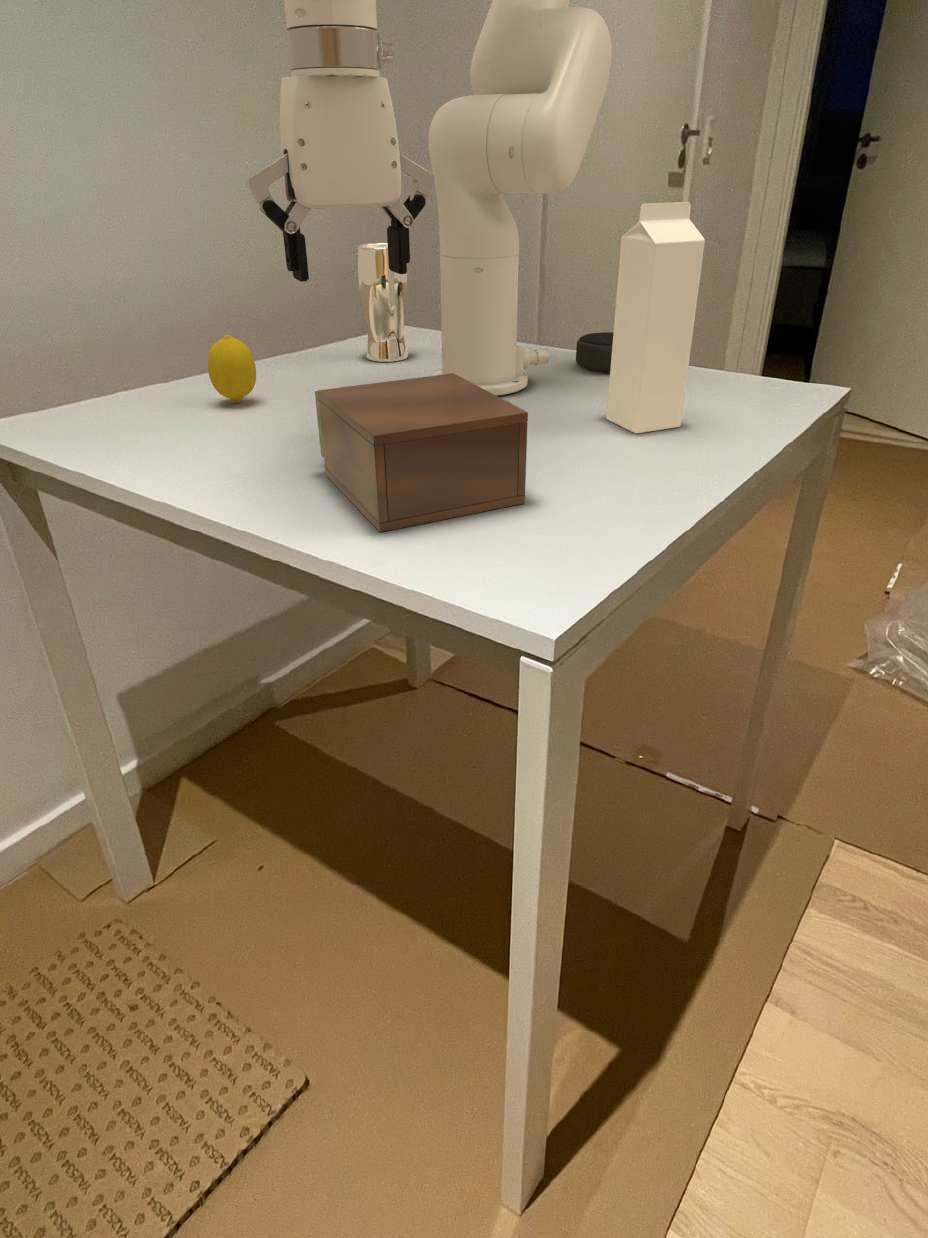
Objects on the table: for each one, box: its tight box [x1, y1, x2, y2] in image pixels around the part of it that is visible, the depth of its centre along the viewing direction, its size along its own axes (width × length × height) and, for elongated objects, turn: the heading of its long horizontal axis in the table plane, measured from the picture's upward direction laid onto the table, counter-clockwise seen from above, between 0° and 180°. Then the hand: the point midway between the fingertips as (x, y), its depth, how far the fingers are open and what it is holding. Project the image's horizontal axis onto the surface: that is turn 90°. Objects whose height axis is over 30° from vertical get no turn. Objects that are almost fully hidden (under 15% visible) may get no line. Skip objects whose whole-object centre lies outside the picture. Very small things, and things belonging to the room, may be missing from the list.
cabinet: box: [317, 373, 529, 533], centre depth 72 cm, size 15×14×8 cm
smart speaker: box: [575, 331, 614, 375], centre depth 112 cm, size 9×9×4 cm
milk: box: [606, 201, 706, 434], centre depth 85 cm, size 6×6×22 cm
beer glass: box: [357, 242, 409, 363], centre depth 115 cm, size 7×7×15 cm
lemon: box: [207, 334, 257, 404], centre depth 97 cm, size 6×6×8 cm
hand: (350, 275), depth 77 cm, fingers open, 9 cm apart
